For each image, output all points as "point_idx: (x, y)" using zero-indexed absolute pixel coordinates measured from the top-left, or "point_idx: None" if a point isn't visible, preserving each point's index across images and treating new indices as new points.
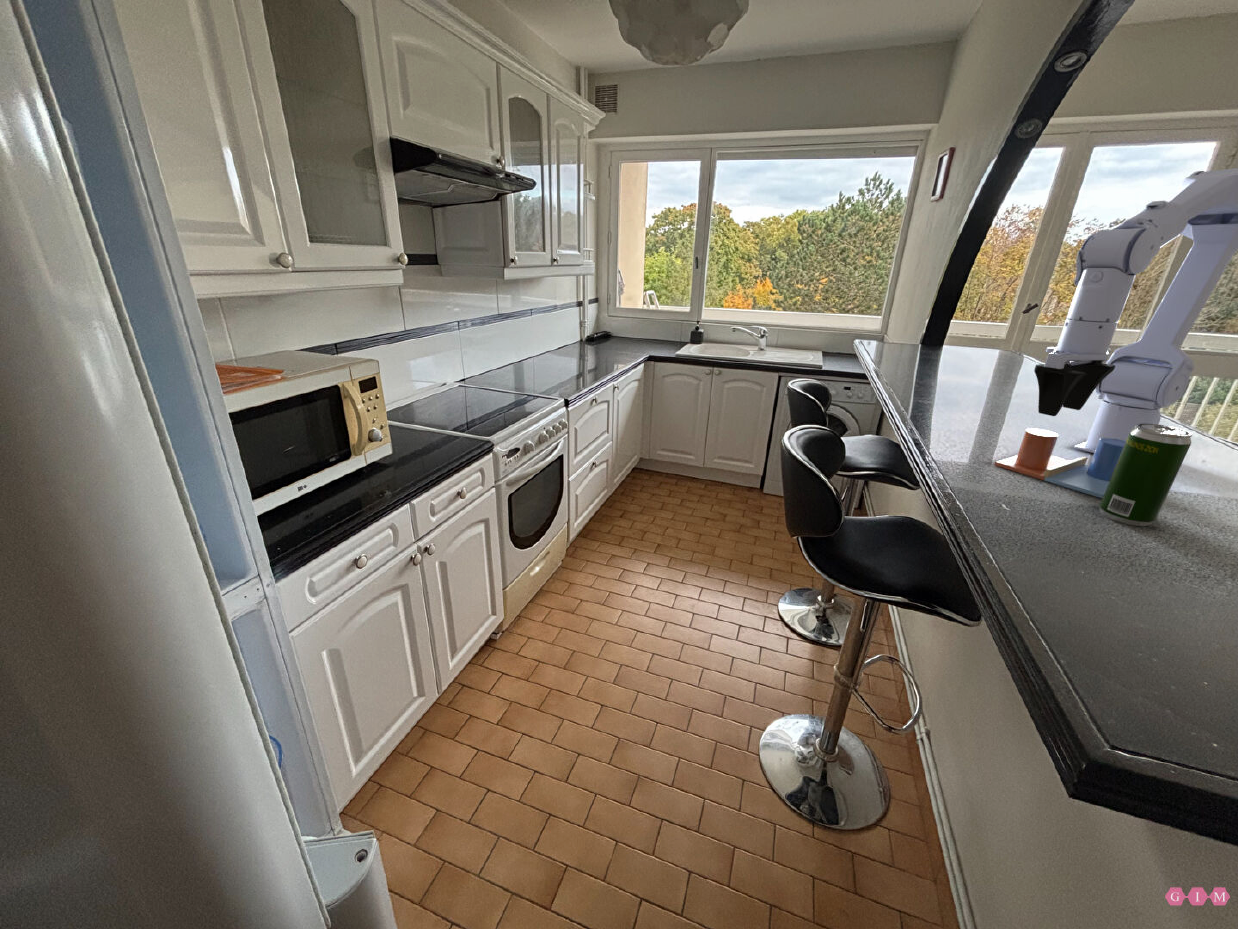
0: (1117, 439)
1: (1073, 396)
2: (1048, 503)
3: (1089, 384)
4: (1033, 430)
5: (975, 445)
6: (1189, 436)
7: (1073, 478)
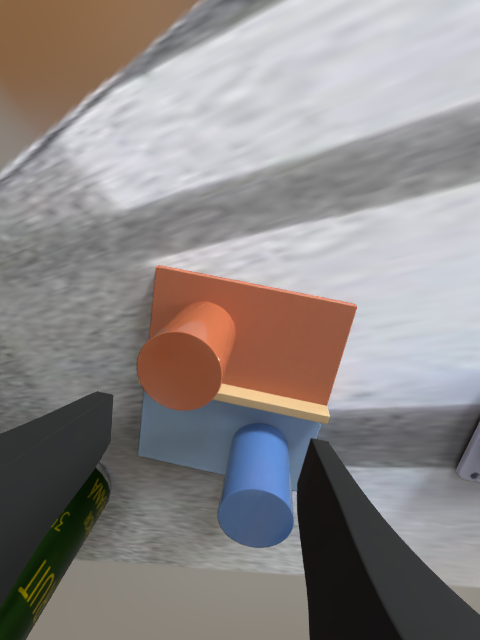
0: (290, 518)
1: (313, 503)
2: (31, 394)
3: (318, 624)
4: (183, 349)
5: (308, 163)
6: None
7: (189, 410)
